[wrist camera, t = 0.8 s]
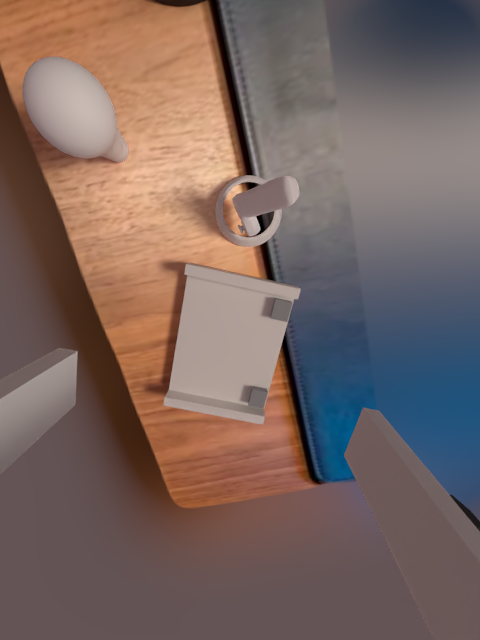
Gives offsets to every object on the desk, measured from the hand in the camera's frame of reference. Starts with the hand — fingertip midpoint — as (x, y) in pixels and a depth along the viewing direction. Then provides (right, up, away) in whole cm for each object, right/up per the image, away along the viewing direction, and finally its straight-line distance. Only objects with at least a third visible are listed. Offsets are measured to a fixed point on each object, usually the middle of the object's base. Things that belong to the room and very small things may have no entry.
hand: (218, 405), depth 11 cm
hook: (+2, +16, +18) cm, 24 cm away
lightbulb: (-12, +22, +16) cm, 30 cm away
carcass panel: (0, +1, +21) cm, 21 cm away
